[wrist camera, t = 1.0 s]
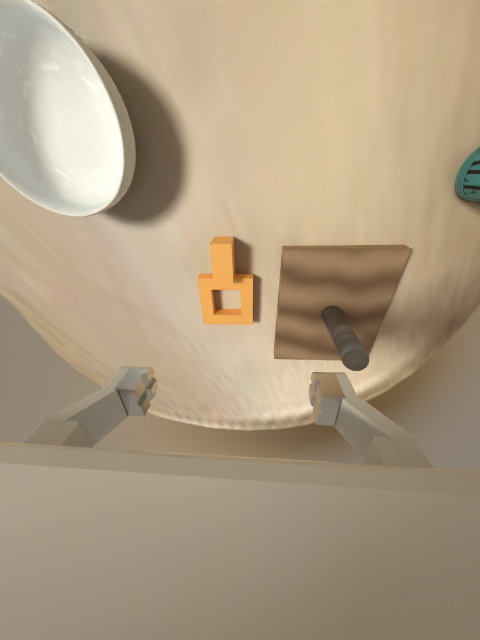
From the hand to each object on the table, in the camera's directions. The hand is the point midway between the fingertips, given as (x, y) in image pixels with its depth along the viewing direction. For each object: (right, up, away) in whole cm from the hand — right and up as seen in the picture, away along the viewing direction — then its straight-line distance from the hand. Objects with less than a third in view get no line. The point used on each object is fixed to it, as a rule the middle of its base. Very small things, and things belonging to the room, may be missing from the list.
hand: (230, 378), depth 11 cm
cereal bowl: (-19, +27, +17) cm, 37 cm away
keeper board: (+16, +5, +28) cm, 33 cm away
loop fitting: (-2, +10, +27) cm, 28 cm away
